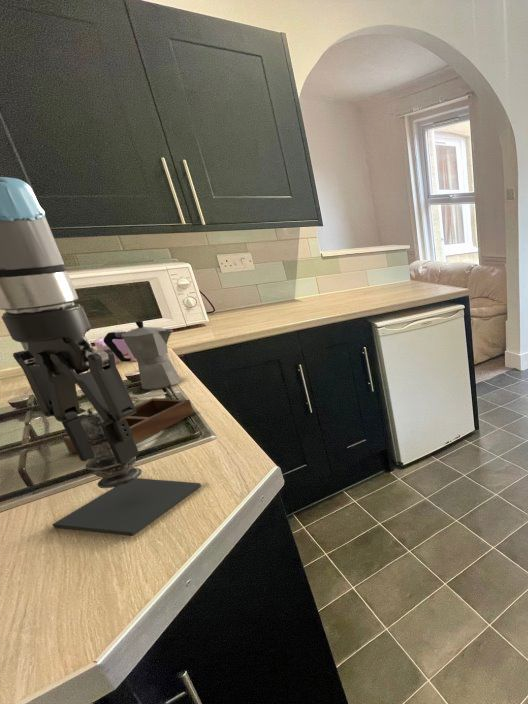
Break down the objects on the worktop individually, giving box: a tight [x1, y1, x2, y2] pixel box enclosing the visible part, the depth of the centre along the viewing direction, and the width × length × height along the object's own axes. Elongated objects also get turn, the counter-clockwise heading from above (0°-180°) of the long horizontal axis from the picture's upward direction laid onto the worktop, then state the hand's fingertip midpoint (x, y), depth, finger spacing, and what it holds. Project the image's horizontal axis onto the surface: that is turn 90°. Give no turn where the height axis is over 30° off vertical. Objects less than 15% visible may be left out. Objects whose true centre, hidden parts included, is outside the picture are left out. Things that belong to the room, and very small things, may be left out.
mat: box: [51, 477, 202, 536], centre depth 67 cm, size 14×12×1 cm
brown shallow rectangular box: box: [62, 397, 195, 455], centre depth 90 cm, size 10×19×4 cm, turn 171°
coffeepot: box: [104, 320, 182, 391], centre depth 114 cm, size 15×9×18 cm, turn 110°
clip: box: [93, 328, 137, 364], centre depth 142 cm, size 20×12×7 cm, turn 32°
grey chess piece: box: [81, 408, 143, 489], centre depth 63 cm, size 6×6×12 cm
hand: (110, 457), depth 64 cm, fingers closed on grey chess piece, 6 cm apart
